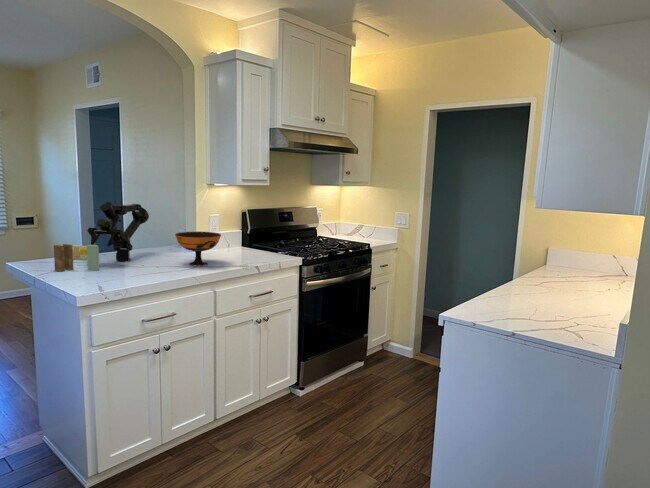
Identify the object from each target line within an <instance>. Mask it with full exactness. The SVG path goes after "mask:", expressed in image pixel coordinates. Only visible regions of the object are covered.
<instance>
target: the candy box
mask: <svg viewBox="0 0 650 488" xmlns="http://www.w3.org/2000/svg"><path fill="white" fill-rule="evenodd" d="M71 245H72V247H73V261H74V260H76V261H87V245H76V244H75V245H73V244H71ZM98 254H99V255H100V247H99V246H98Z"/></svg>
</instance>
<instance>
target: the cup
mask: <svg viewBox="0 0 650 488" xmlns="http://www.w3.org/2000/svg"><path fill="white" fill-rule="evenodd" d="M174 235H175V239H176V240H177V243H178V244H179V246H181V247H182V248H183V249H185V250H188V251H191V252H195V257H194V258H195V259H194V261H192V262H189V263H188V265H189V264H190V265H189V266H192V265H196V266H195V267H200V266H199V265H204V266H208V262H205V261H203V260H202V252H205V251H209V250H211V249H214V248H215V247H216V246H217V245H218V243H219V241H220V239H221V237H222V234H221V233H219V232H214V231H183V232H182V231H181V232H177V233H175V234H174Z"/></svg>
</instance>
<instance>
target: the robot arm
mask: <svg viewBox="0 0 650 488" xmlns="http://www.w3.org/2000/svg"><path fill="white" fill-rule="evenodd" d="M99 209H100V211H101V213H102V214H103V216H104V217H105V218H106V219H104V218H103V219H101V218H98V219H97V221H96V226H98V228H99V229H100V230H98V228H97V227H92V226H91V227H88V229H87V230H86V231H87V233H88V235H90V245H95V243H96V242H97V241H98V240H99V237H100V235H106V236H110V238H109V240H108V242H107V244H106V245H107V246H106V247H110V246H113V247H112V248H113V250H114V251H116V252H115V261H116V262H129V261H131V255H130V253H131V251H132V250H133V245H132V242H131V238H132V237H133V235H134V234H135V232H136V231H137V230H138V228H140V226H141V225H142V224H145V223H146V222H147V221H148V220H149V218H150V214H149V213H148V211H147V210H146V208H144V207H142V205H141V204H140V203H132V204H112V203H111V201H107V202H106V203H103V204H102V205H100V207H99ZM130 212H131V216H132V221H131V222H130V223H129V225H128V226H127V227H126V229H124V231H123V230H122V229H121V228H118V227H117V225H118V223H122V219H121V216H125V215H126V214H128V213H130Z"/></svg>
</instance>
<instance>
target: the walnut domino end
mask: <svg viewBox="0 0 650 488" xmlns="http://www.w3.org/2000/svg"><path fill="white" fill-rule="evenodd" d="M53 259H54V261H53V262H54V271H56V272H65V269H64V247H63V245H61V244H54V245H53Z"/></svg>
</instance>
